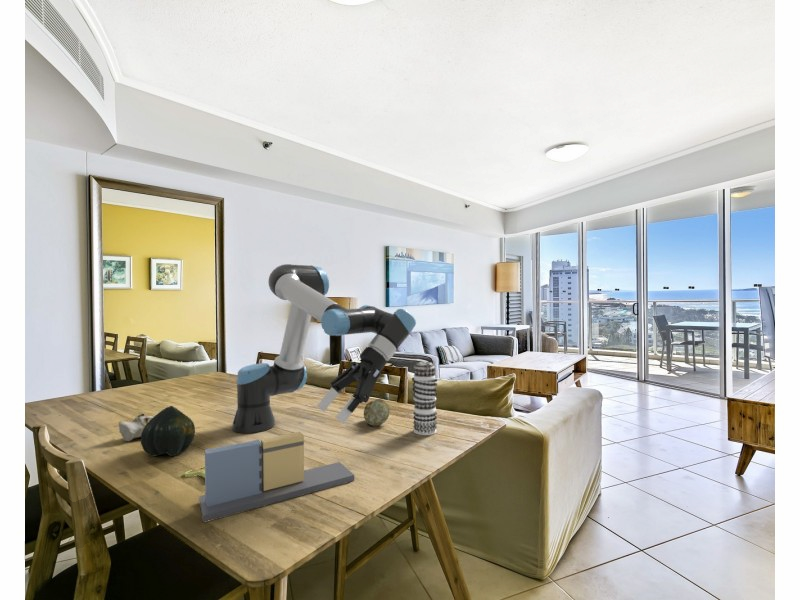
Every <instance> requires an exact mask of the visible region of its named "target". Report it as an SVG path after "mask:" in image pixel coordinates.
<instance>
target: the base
mask: <svg viewBox="0 0 800 600" xmlns="http://www.w3.org/2000/svg"><path fill="white" fill-rule="evenodd" d="M351 482H355V474H354V473H353V472H352V471H351V470H350V469H348V468H347V467H346V466H345V465H344V464H342V463H341V462H340V461H337V462H333V463H329V464H324V465H321V466H317V467H312V468H308V469H304V481H301V482H297V483H293V484H289V485H285V486H281V487H278V488H274V489H270V490H266V491H264V490H263V489H262V493H259V494H255V495H252V496H248V497H244V498H240V499H236V500H232V501H229V502H225V503H221V504H217V505H213V506H209V507H207V506H206V502H205V494H203V495H199V496H198V498H199V499H198V503H199V502H200V504H199V508H200V507H201V509H200V513H202V514H201V517H202V518H203V519H202V522H204V523H206V522H205V521H207V522H209V521H208V520H211V521H213V520H212V519H215V520H217V519H216V518H218V519H221V518H220V517H222V518H225V517H228V515H229V516H231V515H232V514H233V515H236V514H239V512H240V513H243V512H246V510H247V511H249V510H250V509H251V510H254V509H257V507H258V508H261V507H264V505H265V506H269V505H272V504H275V502H276V503H279V502H283V501H286V500H290V499H294V498H298V497H301V496H304V495H308V494H311V493H314V492H317V491H318V492H319V491H322V490H325V489H329V488H332V487H336V486H340V485H344V484H347V483H351ZM268 504H269V505H268ZM253 508H254V509H253ZM251 510H250V511H251ZM242 511H243V512H242ZM235 513H236V514H235ZM224 516H225V517H224Z"/></svg>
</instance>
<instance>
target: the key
mask: <svg viewBox="0 0 800 600" xmlns="http://www.w3.org/2000/svg"><path fill="white" fill-rule="evenodd" d="M197 468H198V469H199V468H200V467H197ZM201 468H205V465H204V466H201ZM192 470H193V469H191V470H187V471H185V472H184V473H183V476H184V475H185V476H194V475H198V474H199V476H202V478H204V479H205V469H201V470H197V471H194V472H191V473H188V472H190V471H192ZM199 476H198V477H199Z"/></svg>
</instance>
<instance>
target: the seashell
mask: <svg viewBox="0 0 800 600" xmlns="http://www.w3.org/2000/svg"><path fill="white" fill-rule="evenodd" d="M390 411H391V409H390V406H389V404H388V402H386V401H385V400H384V399H380V398H377V399H374V400H371V401H369V402H367V404H366V405H365V407H364V410H363V418H364V421H365V422H366V423H367V424H368V425H370V426H380V425H382V424H384V423H386V421H387V420H388V419H389V417H390Z"/></svg>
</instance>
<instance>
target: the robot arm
mask: <svg viewBox="0 0 800 600" xmlns="http://www.w3.org/2000/svg"><path fill="white" fill-rule="evenodd" d="M268 287H269V289H270V291H271V293H272V294H273V295H275V296H276V297H277V298H279V299H280V300H283V301H289V302H290V307H289V311H288V316H287V321H286V326H285V330H284V334H283V338H282V344H281V348H280V352H279V355H278V356H276V357H275V358H274V361H273V364H272V365H270V364H269V363H264V362H263V363H254V364H250V365H246V366H243V367H242V368H240V369H238V372H237V376H236V377H237V378H236V391H237V393H236V394H237V396H236V397H237V402H236V403H237V407H236V408H237V409H236V412H235V415H234V418H233V421H232V430H233V432H234V433H235V432H236V433H240V434H251V433H253V434H254V433H260V432H264V431H267V430H270V429H272V428H274V426H275V425H276V424H275V423H276V419H275V415H274V413H273V410H272V407H271V397H272V396H279V395H283V394H287V393H295V392H297V391H300V390H301V389H302V388H303V387H304V386H305V385H306V382H307V378H308V373H307V371H308V370H307V367H306V366H305V363H304V361H303V359H302V357H303V353H304V349H305V346H306V345H305V344H306V339H307V336H308V332H309V328H310V323H311V320H312V318H314V319H315V320H317V321H319V322H320V325H321V328H322V330H323V332H324V334H326V335H328V336H335V337H340V336H345V335H357V334H367V333H373V334H376V335H375V336H374V337H373V338H372V339H371V341H370V342H369V343H368V346H367V347H365V349H363V351H362V352H361V353H360V354H359V359H360V362H359V363H357V362H356V361H353V362H352V364H351V365H350V366H348V368H346V369H345V370H344V371H343V372H342V373H340V374H339V375H338V376H336V378H335V379H333V380H332V381H331V382H330V385H331V386H330V389H329V390H328V391H327V392H326V394H325V395H324V396H323V398H322V399H321V400H320V401H319V402H318V403H317V405H316V407H318V409H320V410H321V411H322V412H325V411H327V409H328V407H330V406H331V404H333V402H334V400H336V398H337V397H338V395H339V394H340V393H341V391H342V390H343V389H346V387H348V386H350V385H351V384H353V383H357V385H356V389H355V392H354V393H353V394H352V395H351V397H350V398H349V399H348V401H347V402H346V403H345V404H344V406H343V407H342V408H341V409H340V411H339V412H338V413H337V415H336V416H335V419H337V420H338V421H339V422H340V423H341V424H343V425H344V424H345V423H346V422H347V420H348V419H349V418H350V417H351V415H352V414H353V413H354V412H355V410H356V409H357V407H358V406H359V405H360V404H362V403H365V404H366V403H368V401H369V399H370V397H371V395H372V393H373V390H374V388H375V384H376V383H377V381H378V379H379V377H380V376H381V375H382V374H381V371H382V370H383V369H384V368H385V366H386V365H387V362H388V361H390V360H391V358H393V357H394V354H395V353H396V352H397V350H398V349H399V347H400V346H401V345H402V344H403V343H404V342H405V341H406V339H407V337H409V335H410V334H411V333H412V331H413V329H414V328H415V327H416V324H417V322H416V321H417V320H416V319H415V317H414V316H413V315H412V314H411V313H410V312H409V311H408V310H407V309H404V308H398V309H396V311H394V312H393V313H390V312H387V311H386V310H385V311H384V310H382V309H379V308H377V307H376V306H373V305H367V304H364V305H362V306H361V307H359V308H346V307H344V306H342V305H341V304H339V303H337V302H336V301H334V300H332V299H331V298H329V297H327V296H326V295H327V294H328V292H329V288H330V279H329V276H328V273H327V272H326V271H325V269H323V268H322V267H321V266H320V267H319V266H315V265H303V264H300V265H299V264H290V263H289V264H287V263H286V264H281V265H279V266H277V267H275V268H274V269H273V270H271V273H270V274H269V277H268Z"/></svg>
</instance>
